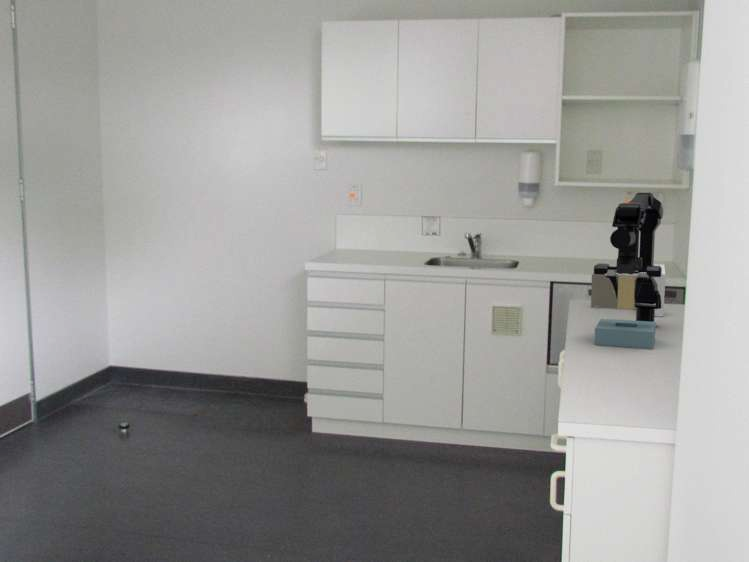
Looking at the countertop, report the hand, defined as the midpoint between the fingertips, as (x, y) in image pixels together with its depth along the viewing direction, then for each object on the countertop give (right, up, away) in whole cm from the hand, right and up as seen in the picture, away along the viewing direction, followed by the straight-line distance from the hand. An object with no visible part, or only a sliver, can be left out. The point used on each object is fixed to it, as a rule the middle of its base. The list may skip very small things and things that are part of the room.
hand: (626, 299), depth 232 cm
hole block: (0, -13, +1) cm, 13 cm away
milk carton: (+23, -7, +45) cm, 51 cm away
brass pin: (0, -3, 0) cm, 2 cm away
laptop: (+16, -5, +62) cm, 64 cm away
